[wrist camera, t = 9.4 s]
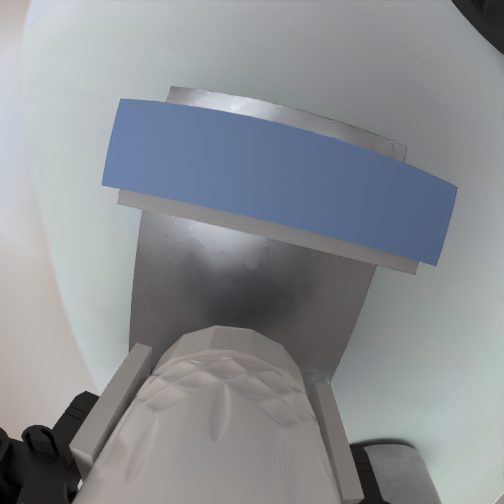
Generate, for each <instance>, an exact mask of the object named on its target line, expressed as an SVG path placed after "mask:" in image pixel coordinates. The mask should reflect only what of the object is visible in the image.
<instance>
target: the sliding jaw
mask: <svg viewBox="0 0 504 504" xmlns="http://www.w3.org/2000/svg"><path fill="white" fill-rule="evenodd" d="M102 185H103V186H108V187H113V188H118V189H120V191H119V197H118V204H120V205H125V206H129V207H134V208H139V209H143V210H148V211H152V212H157V213H161V214H166V215H170V216H175V217H179V218H184V219H188V220H193V221H197V222H201V223H206V224H210V225H214V226H219V227H223V228H227V229H232V230H236V231H240V232H245V233H249V234H253V235H257V236H262V237H266V238H270V239H274V240H278V241H282V242H287V243H291V244H295V245H299V246H303V247H307V248H311V249H315V250H319V251H323V252H327V253H332V254H336V255H340V256H344V257H348V258H351V259H355V260H359V261H363V262H367V263H371V264H375V265H379V266H383V267H387V268H391V269H394V270H398V271H402V272H406V273H410V274H414V275H415V273H416V270H417V267H418V264H419V261H420V262H424V263H427V264H430V265H434V266H437V263H438V260H439V257H440V253H441V250H442V247H443V244H444V240H445V237H446V233H447V230H448V226H449V222H450V218H451V214H452V210H453V206H454V202H455V197H456V193H457V188H458V187H456V186H454V185H452V184H450V183H448V182H446V181H444V180H442V179H440V178H437V177H435V176H433V175H431V174H428V173H426V172H424V171H422V170H419V169H417V168H415V167H412V166H410V165H407V164H405V163H402V162H400V161H397V160H395V159H392V158H390V157H387V156H384V155H382V154H379V153H376V152H374V151H371V150H368V149H365V148H362V147H359V146H357V145H354V144H351V143H348V142H345V141H341V140H338V139H335V138H332V137H329V136H325V135H322V134H319V133H315V132H312V131H308V130H304V129H301V128H297V127H293V126H289V125H286V124H282V123H277V122H273V121H269V120H265V119H260V118H256V117H251V116H246V115H241V114H236V113H231V112H226V111H220V110H215V109H209V108H202V107H196V106H189V105H182V104H174V103H166V102H156V101H146V100H134V99H120V103H119V106H118V110H117V114H116V118H115V122H114V126H113V130H112V134H111V138H110V143H109V148H108V152H107V157H106V162H105V168H104V173H103V179H102Z"/></svg>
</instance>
